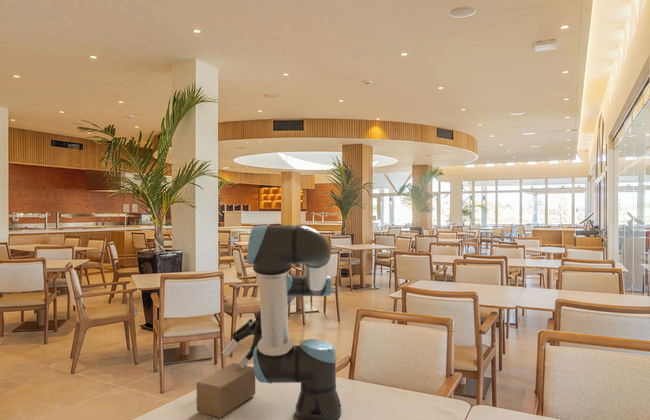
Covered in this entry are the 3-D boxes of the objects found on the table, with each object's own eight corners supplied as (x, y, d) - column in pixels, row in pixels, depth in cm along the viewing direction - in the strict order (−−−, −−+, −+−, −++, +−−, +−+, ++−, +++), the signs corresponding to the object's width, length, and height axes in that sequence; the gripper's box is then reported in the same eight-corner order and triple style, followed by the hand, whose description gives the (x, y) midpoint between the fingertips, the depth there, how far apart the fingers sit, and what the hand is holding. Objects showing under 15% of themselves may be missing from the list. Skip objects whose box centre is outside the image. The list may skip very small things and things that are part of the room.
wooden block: (255, 394, 168) (220, 418, 150) (233, 389, 173) (196, 411, 155) (255, 366, 168) (220, 387, 150) (233, 362, 172) (195, 381, 154)
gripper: (291, 328, 172) (254, 376, 163) (259, 313, 192) (224, 356, 183) (279, 315, 168) (240, 364, 160) (247, 302, 189) (211, 345, 180)
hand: (231, 360), depth 172 cm, fingers open, 13 cm apart
